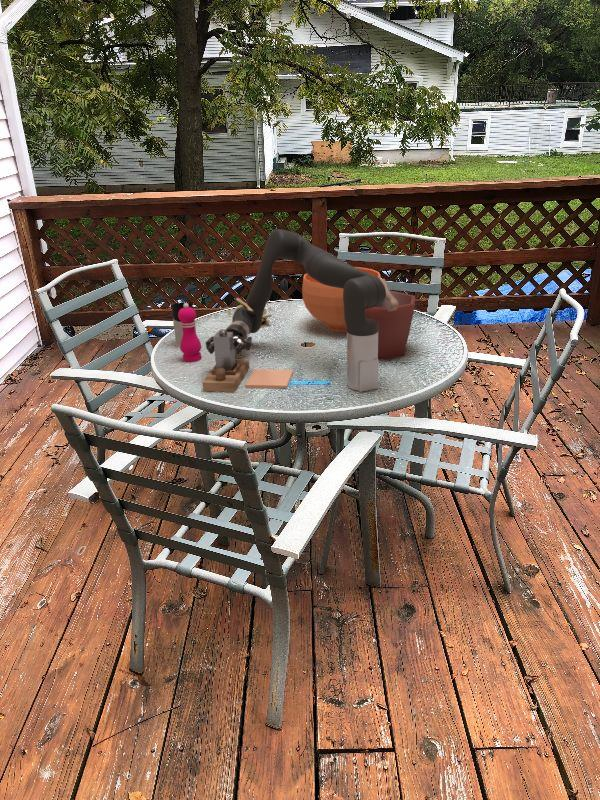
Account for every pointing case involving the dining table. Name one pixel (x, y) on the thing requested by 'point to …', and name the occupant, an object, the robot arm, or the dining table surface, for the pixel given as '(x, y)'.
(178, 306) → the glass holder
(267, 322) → the tableware set
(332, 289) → the bowl
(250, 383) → the coaster
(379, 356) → the bucket
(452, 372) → the dining table surface
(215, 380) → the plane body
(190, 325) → the pepper mill
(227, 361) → the grey square grinder
